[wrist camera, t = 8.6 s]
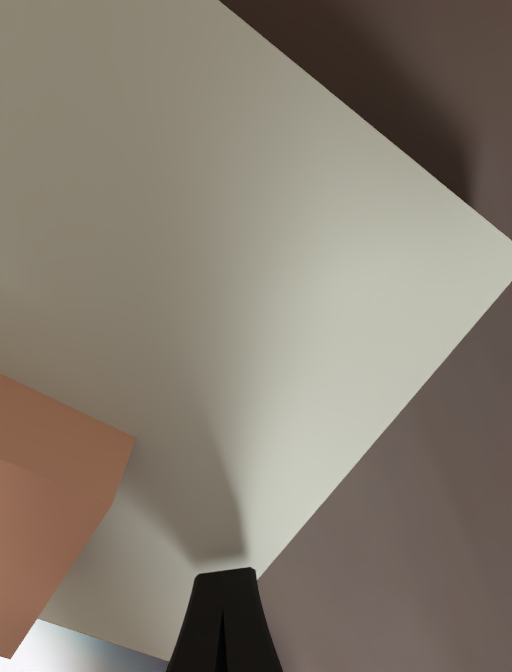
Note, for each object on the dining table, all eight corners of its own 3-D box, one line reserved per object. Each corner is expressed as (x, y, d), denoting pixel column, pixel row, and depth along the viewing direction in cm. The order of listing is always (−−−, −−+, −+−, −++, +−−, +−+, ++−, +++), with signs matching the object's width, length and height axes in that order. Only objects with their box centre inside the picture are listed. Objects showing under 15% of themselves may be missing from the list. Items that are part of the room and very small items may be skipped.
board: (473, 244, 10) (532, 257, 8) (189, 599, 13) (183, 666, 11) (-132, -233, 6) (-281, -410, 4) (-300, 414, 10) (-423, 467, 8)
